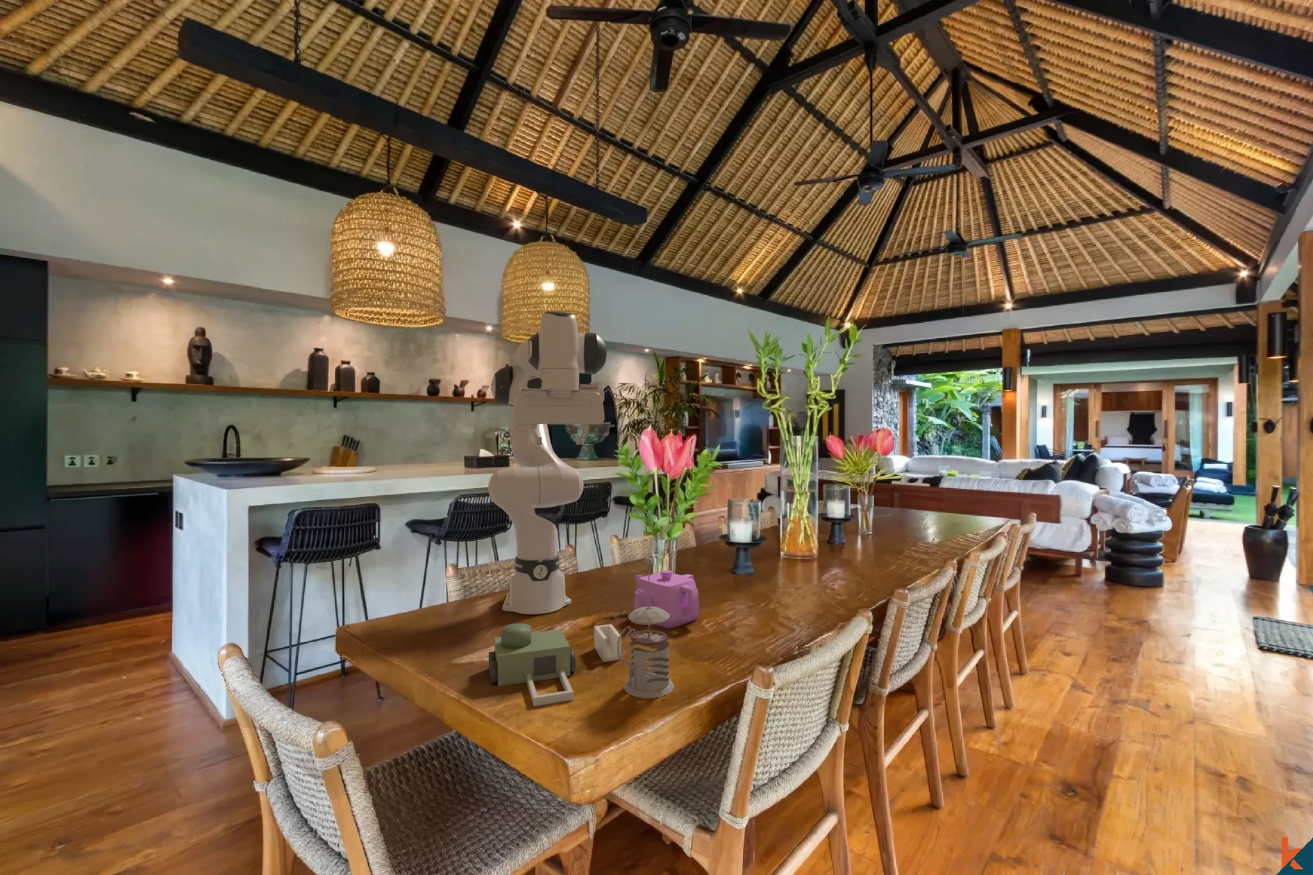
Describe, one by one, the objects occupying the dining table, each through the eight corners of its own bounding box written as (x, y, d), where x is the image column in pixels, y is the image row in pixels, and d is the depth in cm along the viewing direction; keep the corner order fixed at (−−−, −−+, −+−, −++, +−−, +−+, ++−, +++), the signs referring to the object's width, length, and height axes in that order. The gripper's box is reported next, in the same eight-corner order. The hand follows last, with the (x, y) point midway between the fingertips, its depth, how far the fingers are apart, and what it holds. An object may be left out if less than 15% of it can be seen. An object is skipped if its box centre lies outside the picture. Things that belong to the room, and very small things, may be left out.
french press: (684, 688, 109) (684, 559, 109) (633, 706, 103) (633, 567, 102) (655, 670, 117) (655, 549, 117) (606, 685, 111) (605, 557, 110)
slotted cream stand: (594, 648, 129) (594, 626, 129) (611, 645, 131) (611, 624, 130) (603, 661, 122) (603, 638, 122) (621, 659, 123) (621, 636, 123)
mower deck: (488, 666, 119) (488, 623, 119) (566, 655, 125) (566, 615, 125) (495, 712, 100) (495, 661, 100) (587, 697, 106) (587, 649, 106)
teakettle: (701, 629, 141) (701, 579, 141) (632, 629, 141) (632, 579, 141) (696, 607, 158) (696, 563, 158) (634, 607, 158) (635, 563, 158)
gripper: (600, 385, 135) (601, 444, 135) (511, 383, 128) (512, 444, 128) (607, 383, 129) (607, 444, 129) (514, 381, 122) (514, 445, 122)
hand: (559, 444), depth 128 cm, fingers open, 8 cm apart
